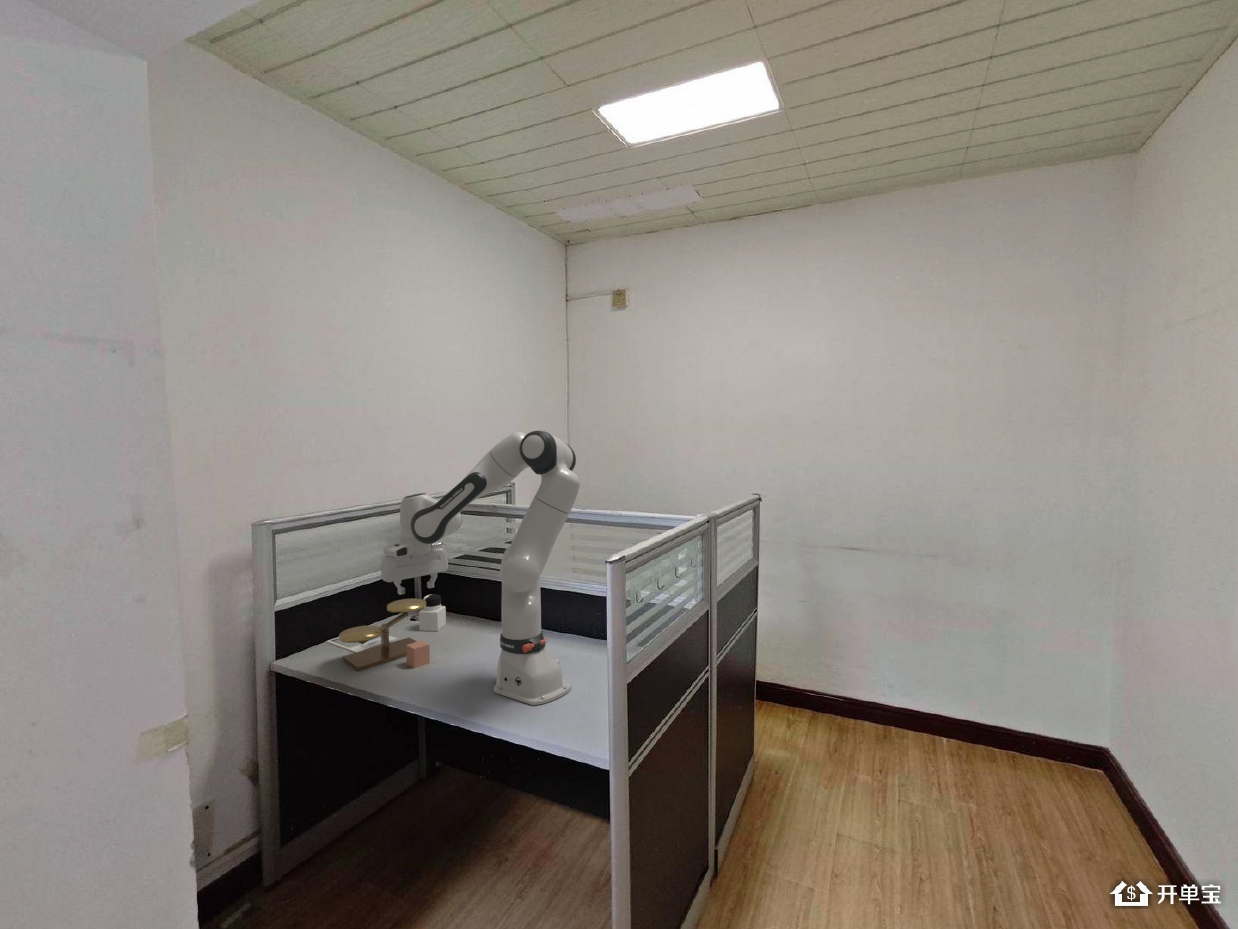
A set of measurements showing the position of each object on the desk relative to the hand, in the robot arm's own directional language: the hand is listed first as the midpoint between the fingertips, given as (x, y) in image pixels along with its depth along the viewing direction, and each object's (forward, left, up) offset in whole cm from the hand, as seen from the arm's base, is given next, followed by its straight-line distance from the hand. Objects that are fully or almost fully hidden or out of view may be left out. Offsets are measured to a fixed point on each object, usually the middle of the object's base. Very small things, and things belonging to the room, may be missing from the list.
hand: (416, 590), depth 167 cm
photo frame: (+32, +4, -24) cm, 40 cm away
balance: (+14, +4, -23) cm, 27 cm away
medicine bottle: (+26, -19, -23) cm, 40 cm away
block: (0, 0, -23) cm, 23 cm away
